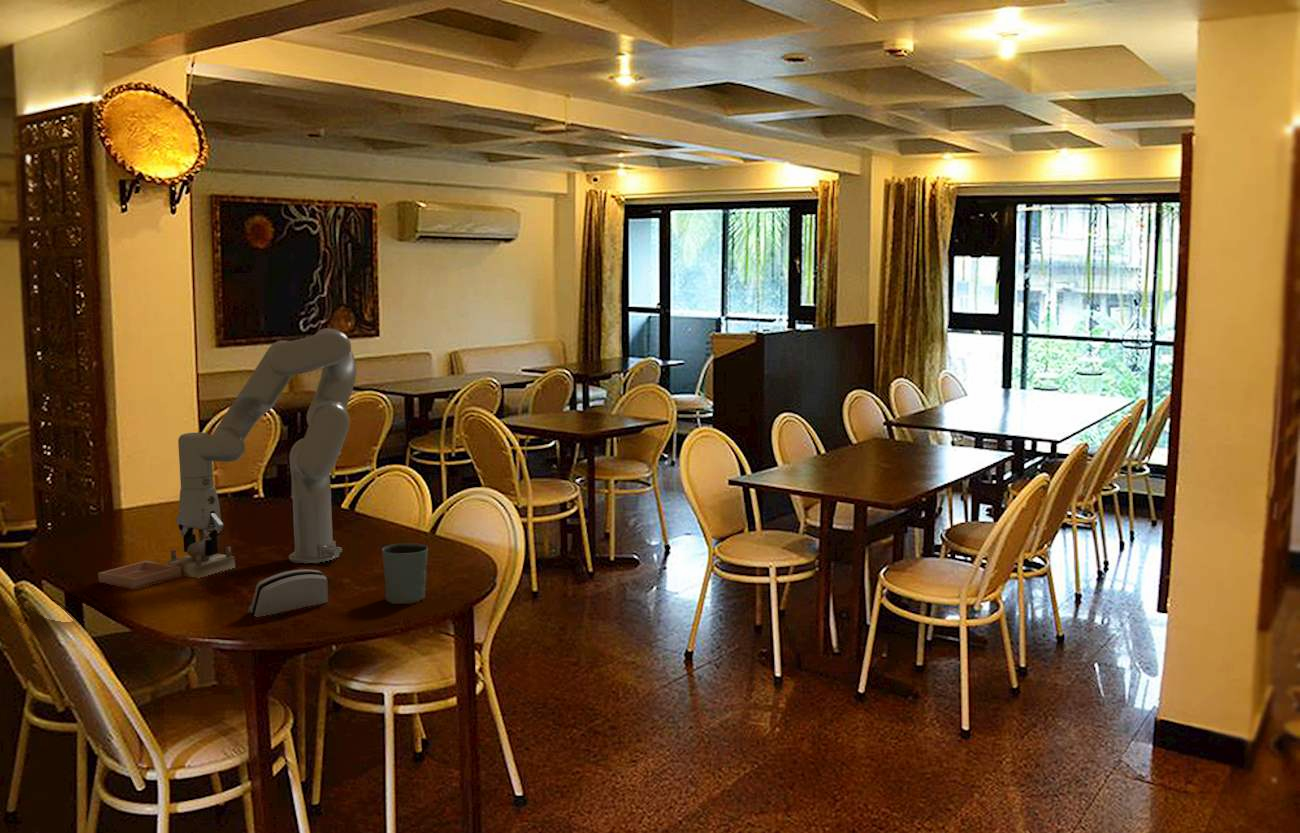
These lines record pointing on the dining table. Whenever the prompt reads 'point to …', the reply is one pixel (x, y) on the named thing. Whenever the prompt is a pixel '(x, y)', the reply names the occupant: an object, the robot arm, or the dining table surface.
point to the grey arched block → (289, 592)
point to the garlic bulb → (198, 547)
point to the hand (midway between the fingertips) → (200, 552)
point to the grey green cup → (405, 572)
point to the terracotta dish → (139, 574)
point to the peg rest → (203, 564)
